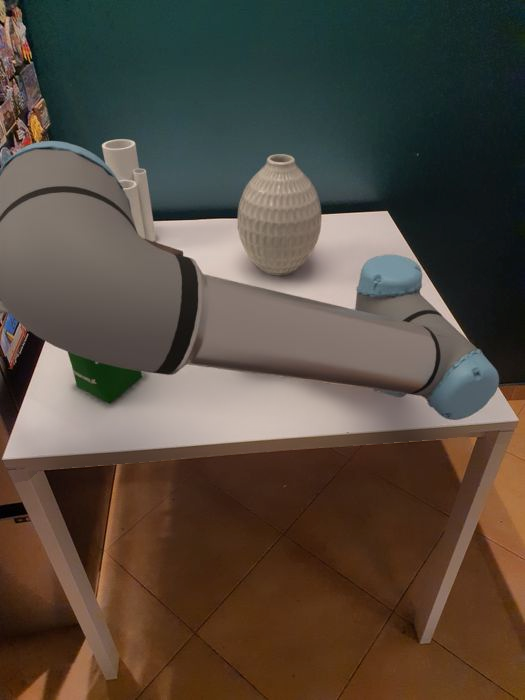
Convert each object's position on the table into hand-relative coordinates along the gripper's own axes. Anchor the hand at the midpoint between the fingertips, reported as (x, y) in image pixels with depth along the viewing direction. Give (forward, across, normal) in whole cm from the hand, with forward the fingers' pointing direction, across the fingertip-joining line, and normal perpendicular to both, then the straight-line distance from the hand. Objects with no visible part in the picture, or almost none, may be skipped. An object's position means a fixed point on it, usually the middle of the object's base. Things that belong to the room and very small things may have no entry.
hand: (190, 292), depth 87 cm
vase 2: (-2, +25, -7) cm, 26 cm away
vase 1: (+31, +19, -7) cm, 37 cm away
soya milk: (+2, -18, -7) cm, 20 cm away
